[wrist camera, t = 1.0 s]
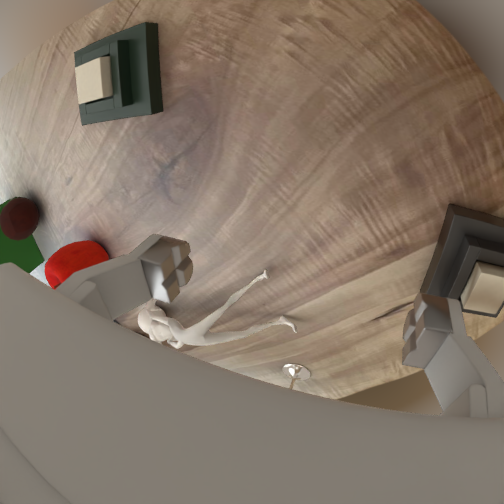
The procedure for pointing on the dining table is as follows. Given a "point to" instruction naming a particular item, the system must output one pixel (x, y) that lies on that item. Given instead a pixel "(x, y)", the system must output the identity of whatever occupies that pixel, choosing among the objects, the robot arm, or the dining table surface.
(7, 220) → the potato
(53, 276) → the apple
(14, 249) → the hardback book
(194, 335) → the figurine
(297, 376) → the wineglass
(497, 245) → the tiered grey pedestal
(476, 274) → the key near
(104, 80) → the key far
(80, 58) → the stepped green tier
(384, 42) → the dining table surface
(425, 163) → the dining table surface
